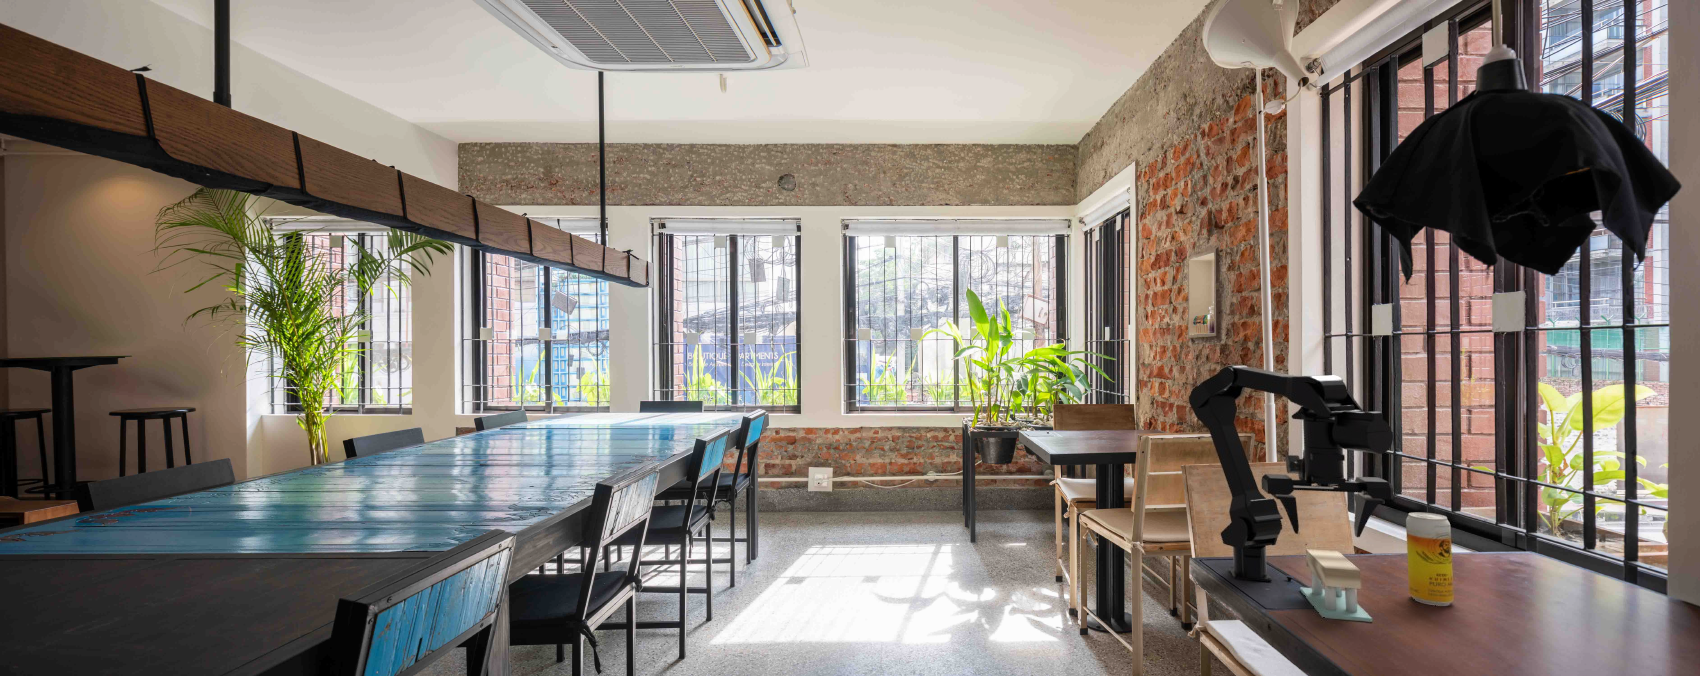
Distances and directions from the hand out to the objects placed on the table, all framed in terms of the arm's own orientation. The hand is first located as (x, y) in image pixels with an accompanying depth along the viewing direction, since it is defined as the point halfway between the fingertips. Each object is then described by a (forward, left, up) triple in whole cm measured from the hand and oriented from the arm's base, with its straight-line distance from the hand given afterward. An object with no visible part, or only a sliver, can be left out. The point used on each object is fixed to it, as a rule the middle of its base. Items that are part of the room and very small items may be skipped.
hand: (1326, 534), depth 124 cm
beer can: (-6, +17, -12) cm, 22 cm away
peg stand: (+1, +1, -12) cm, 12 cm away
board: (+1, +1, -7) cm, 7 cm away
